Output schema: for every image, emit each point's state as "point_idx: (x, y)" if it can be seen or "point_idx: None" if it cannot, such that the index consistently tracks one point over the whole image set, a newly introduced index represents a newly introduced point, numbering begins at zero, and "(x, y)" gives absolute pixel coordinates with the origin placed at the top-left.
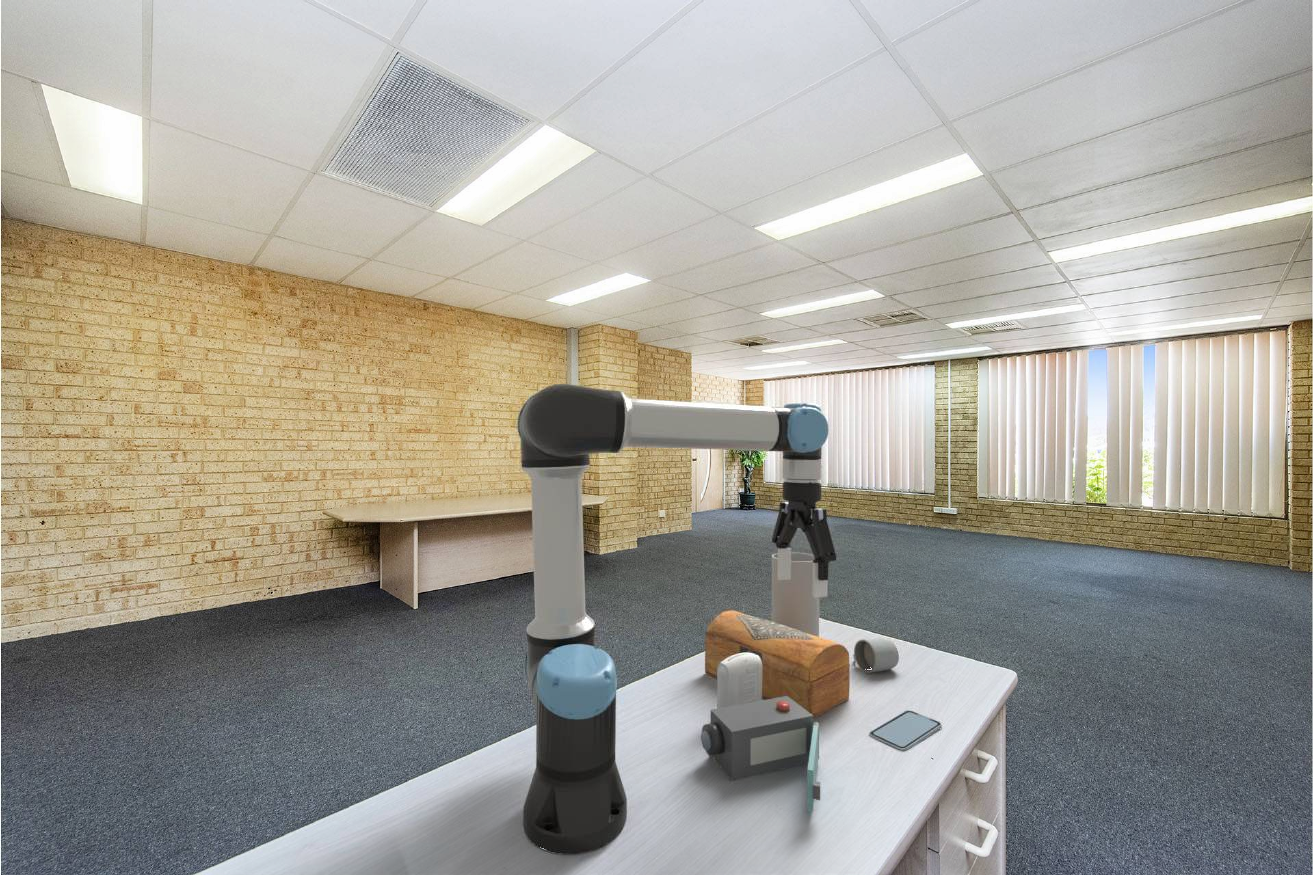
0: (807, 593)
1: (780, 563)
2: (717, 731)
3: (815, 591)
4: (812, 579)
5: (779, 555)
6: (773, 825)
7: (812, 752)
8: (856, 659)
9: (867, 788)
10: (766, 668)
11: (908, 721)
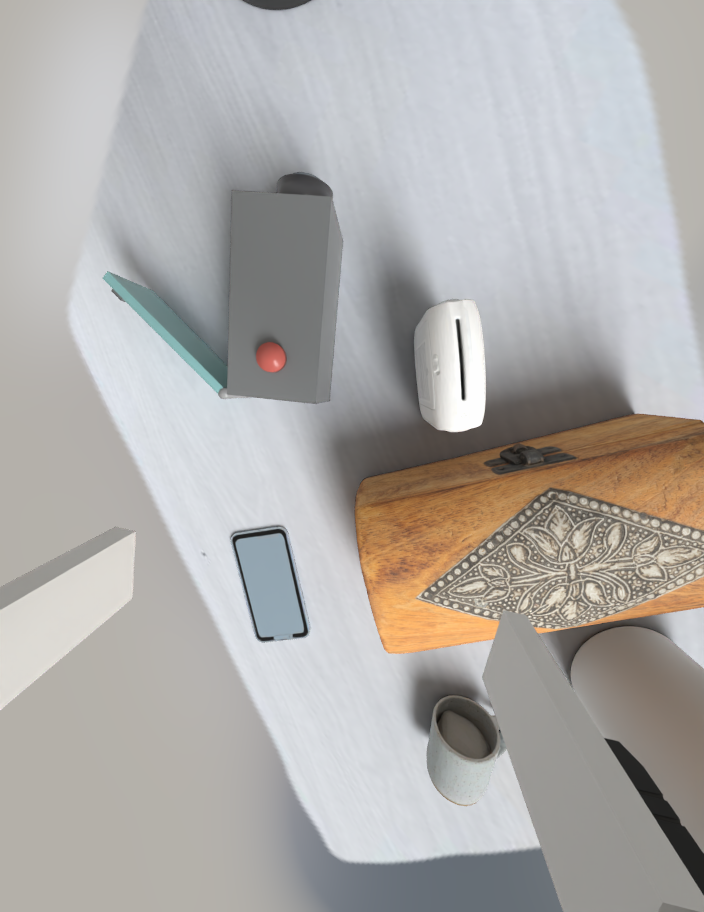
0: (695, 835)
1: (551, 714)
2: (282, 192)
3: (88, 545)
4: None
5: (602, 792)
6: (159, 234)
7: (146, 316)
8: (486, 713)
9: (180, 417)
10: (472, 470)
11: (284, 606)
